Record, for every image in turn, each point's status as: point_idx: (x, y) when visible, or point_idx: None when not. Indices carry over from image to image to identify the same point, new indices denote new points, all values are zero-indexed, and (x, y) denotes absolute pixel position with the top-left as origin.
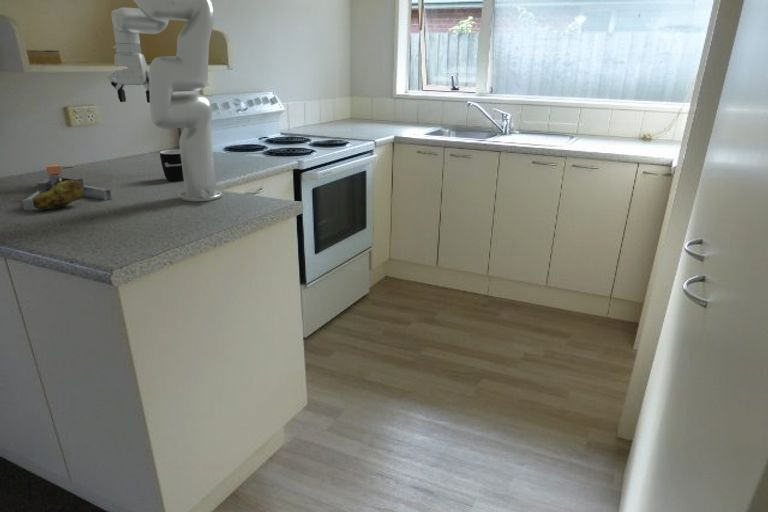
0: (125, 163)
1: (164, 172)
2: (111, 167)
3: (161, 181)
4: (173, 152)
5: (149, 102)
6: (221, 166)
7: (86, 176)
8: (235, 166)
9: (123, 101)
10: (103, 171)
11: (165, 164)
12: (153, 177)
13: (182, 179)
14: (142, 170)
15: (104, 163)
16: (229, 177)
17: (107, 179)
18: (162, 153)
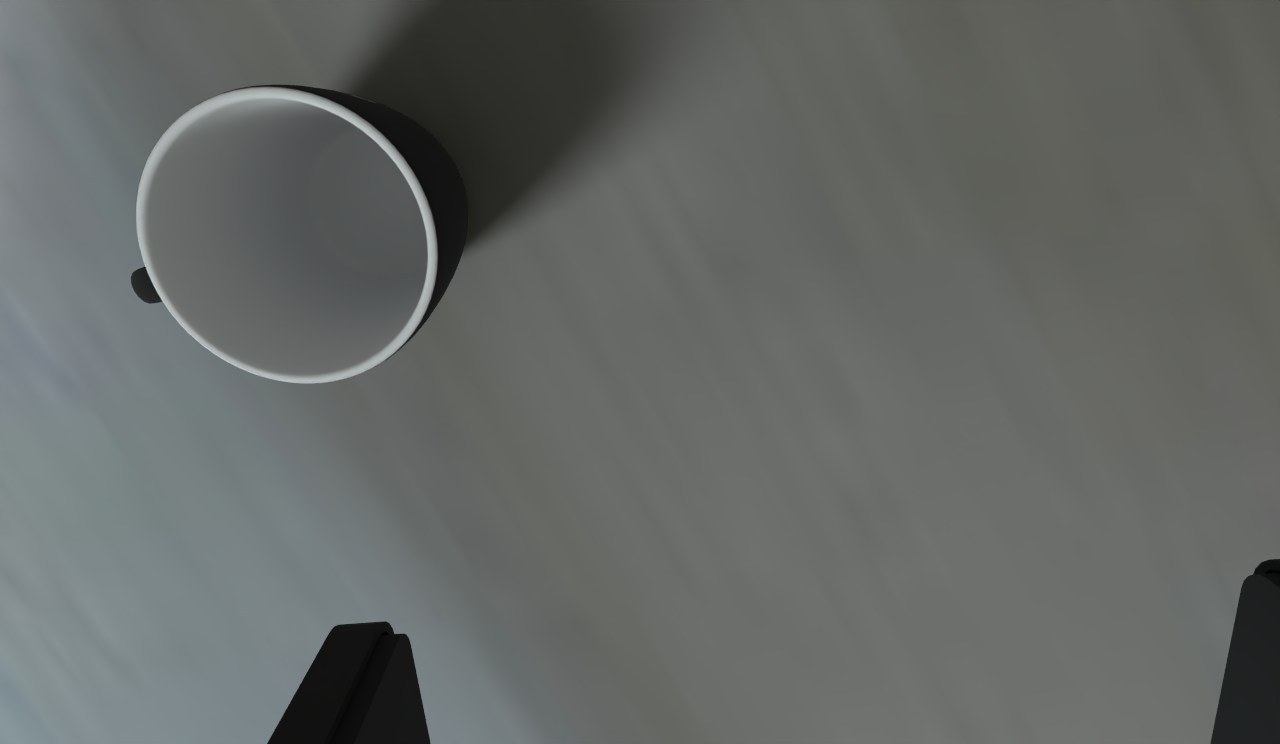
0: (1097, 684)
1: (424, 129)
2: (1146, 540)
3: (475, 113)
4: (372, 352)
5: (347, 642)
6: None
7: (1210, 189)
8: (214, 724)
9: (1231, 645)
10: (1147, 394)
11: (355, 96)
12: (626, 251)
13: (303, 165)
14: (848, 481)
15: None
16: (12, 360)
17: (977, 106)
18: (336, 105)
